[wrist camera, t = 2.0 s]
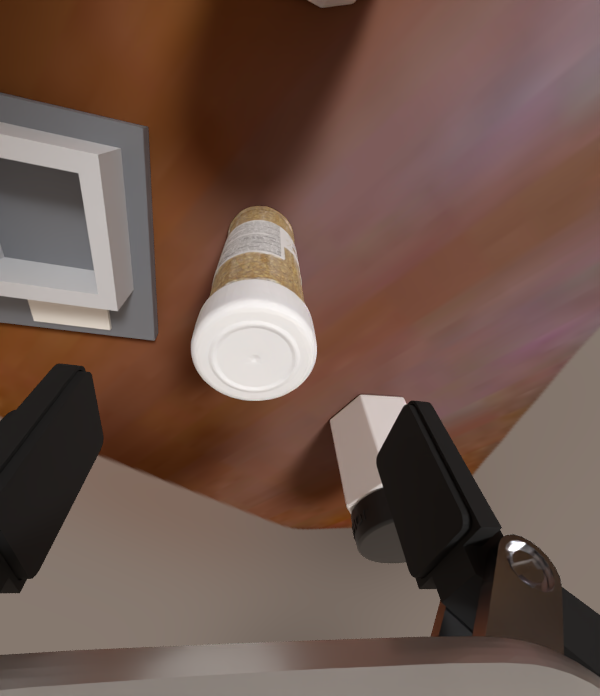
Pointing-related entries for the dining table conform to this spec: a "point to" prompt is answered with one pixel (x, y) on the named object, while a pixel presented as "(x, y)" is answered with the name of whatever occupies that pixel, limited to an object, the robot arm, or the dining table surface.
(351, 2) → the white cup
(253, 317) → the sprinkles bottle
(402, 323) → the dining table surface
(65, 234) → the socket board
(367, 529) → the jar
